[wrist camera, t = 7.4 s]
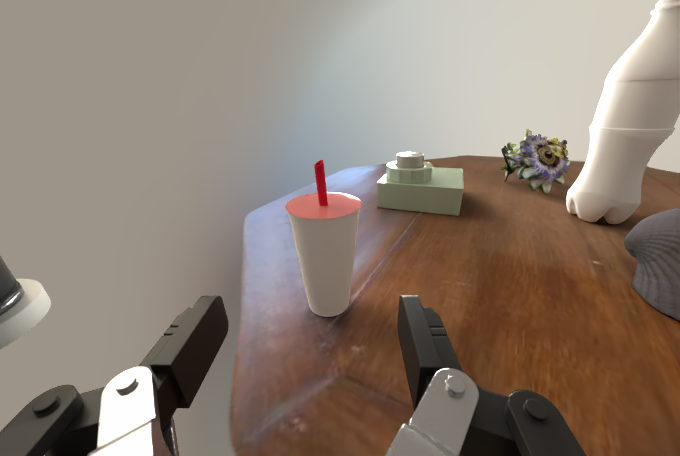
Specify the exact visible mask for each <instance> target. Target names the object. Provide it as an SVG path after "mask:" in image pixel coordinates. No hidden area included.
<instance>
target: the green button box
mask: <svg viewBox="0 0 680 456" xmlns="http://www.w3.org/2000/svg"><path fill="white" fill-rule="evenodd" d="M396 165H397V161H395V162H390V163H388V164H387V165H386V174H385V175H384V176H383V177H382V179H381V180H380V181H379V182H378V189H377V207H381V208H391V209H400V210H409V211H418V212H428V213H437V214H446V215H455V216H459V213H460V207H461V201H462V195H463V169H453V168H434V167H433V165H432V164H430V163H428V162H423V167H421V168H412V169H411V168H400V167H396Z"/></svg>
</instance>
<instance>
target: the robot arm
mask: <svg viewBox="0 0 680 456" xmlns="http://www.w3.org/2000/svg"><path fill="white" fill-rule="evenodd" d="M23 295H24V289H23V288H22V286H21V285H20V283H19V282H18V281H16V280H15V278H14V277H13V275H12V274H11V272H10V270H9V269H8V268H7V266H6V264H5V263H4V261H3V259H2V257H1V256H0V316H1V315H2V314H4V313H5V312H7V311H8V310H10V309H11V308H12V307H13V306H15V305H16V304H17V303H18V302H19V301H20V300H21V298H22V297H23ZM227 332H228V319H227V315H226V311H225V308H224V304H223V300H222V298H221V297H220V296H201V297H200V298H199V300H198V301H197V302H196V304H195V305H194V306H193V308H188V309H186V310H185V311H184V312H183V313H181V314H180V315H179V316H178V317H177V318H176V319H175V320H174V321H173V323H172V324H171V325H170V328H168V329H167V330H166V332H165V333H164V336H162V337H161V338H160V339H159V341H158V342H157V343H156V344H155V346H154V347H153V348H152V350H151V351H150V352H149V354H148V355H147V356H146V357H145V358H144V360H143V361H142V362H141V364H140V365H139V366H138V367H134V368H131V369H128V370H126V371H124V372H122V373H121V374H119V375H117V376H116V377H115V378H114V379H112V380H111V381H110V382H109V383H108V384H107V386H106V387H104V388H100V389H96V390H92V391H89V392H85V393H82V394H79V393H78V391H77V390H76V388H75V387H74V386H72V385H62V386H58V387H55V388H53V389H50V390H48V391H46V392H44V393H43V394H41V395H39V396H38V397H36V398H35V399H33V400H32V401H31V402H30V403H29V404H28V405H26V406H25V408H23V409H22V410H21V411H20V412H19V413H18V415H16V417H14V419H13V420H12V421H11V422H10V423H9V424H8V425H7V426H6V427H5V428H4V429H3V430H2V431H1V432H0V456H44V455H45V456H179V452H178V445H177V438H176V432H175V425H174V420H173V418H172V416H173V414H174V412H175V410H176V409H177V408H189V407H190V405H191V403H192V401H193V399H194V397H195V395H196V393H197V392H198V390H199V388H200V386H201V384H202V382H203V380H204V378H205V376H206V374H207V372H208V370H209V368H210V366H211V364H212V362H213V361H214V358H215V357H216V355H217V353H218V351H219V349H220V347H221V345H222V343H223V341H224V339H225V337H226V335H227ZM398 335H399V340H400V345H401V350H402V355H403V359H404V364H405V369H406V374H407V379H408V383H409V388H410V393H411V398H412V402H413V407H414V414H413V415H412V417H411V419H410V421H409V422H408V423H407V422H405V423H404V424H403V425H402V426H401V428H400V430H399V431H398V433H397V435H396V437H395V439H394V440H393V442H392V444H391V446H390V448H389V449H388V451H387V453H386V455H385V456H462V455H463V456H586V455H585V453H584V451H583V450H582V448H581V446H580V445H579V443H578V442H577V440H576V438H575V437H574V435H573V433H572V432H571V430H570V428H569V427H568V425H567V424H566V422H565V420H564V419H563V417H562V415H561V414H560V412H559V411H558V409H557V408H556V407H555V406H554V405H553V404H552V403H551V402H550V401H548V400H547V399H546V398H544V397H543V396H541V395H539V394H537V393H535V392H532V391H529V390H516V391H514V392H512V393H511V394H510V396H509V397H506V396H503V395H500V394H496V393H493V392H490V391H487V390H484V389H482V388H480V387H478V386H477V385H475V383H474V382H473V380H472V379H471V378H470V377H469V376H467V375H466V374H465V373H463V371H462V369H461V367H460V364H459V362H458V360H457V357H456V355H455V352H454V350H453V347H452V345H451V343H450V340H449V338H448V337H447V333H446V331H445V328H444V326H443V323H442V321H441V319H440V316H439V315H438V314H437V313H436V312H435V311H434V310H433V309H432V308H431V307H422V305H421V303H420V300H419V297H418V295H400V299H399V311H398Z"/></svg>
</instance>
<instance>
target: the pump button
mask: <svg viewBox="0 0 680 456" xmlns="http://www.w3.org/2000/svg"><path fill="white" fill-rule="evenodd" d="M423 160H424V155H423V154H422V153H417V152H403V153H399V154H397V165H396V167H400V168H411V169H412V168H421V167H423Z"/></svg>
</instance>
